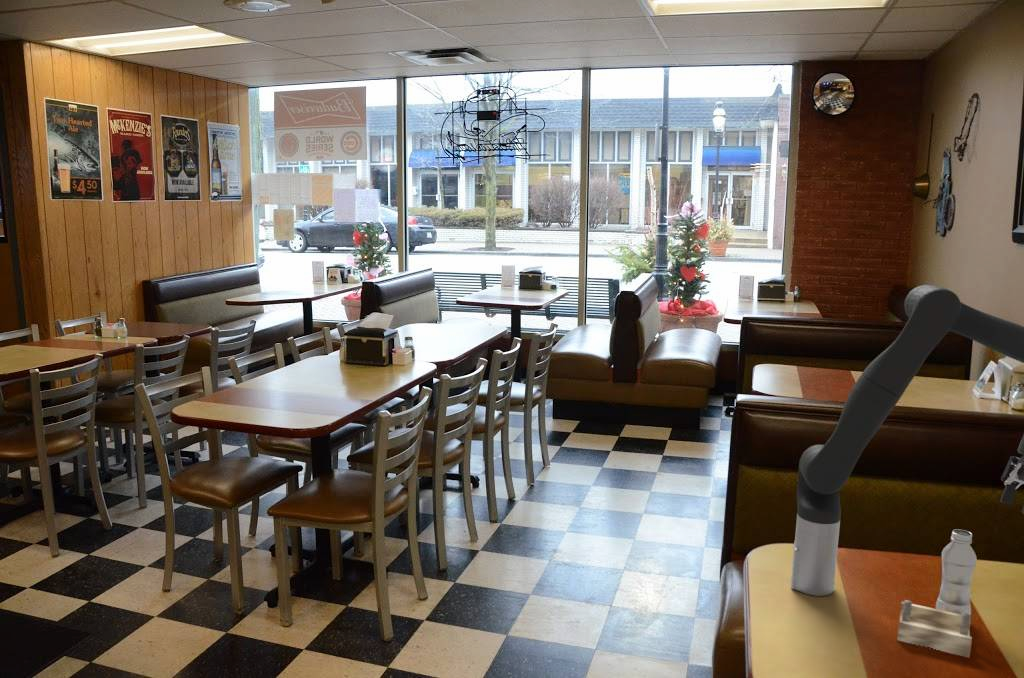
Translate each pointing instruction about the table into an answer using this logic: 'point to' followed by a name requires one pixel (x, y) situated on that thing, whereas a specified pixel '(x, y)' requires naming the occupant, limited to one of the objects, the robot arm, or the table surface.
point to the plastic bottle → (957, 574)
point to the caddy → (935, 629)
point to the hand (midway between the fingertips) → (1015, 509)
